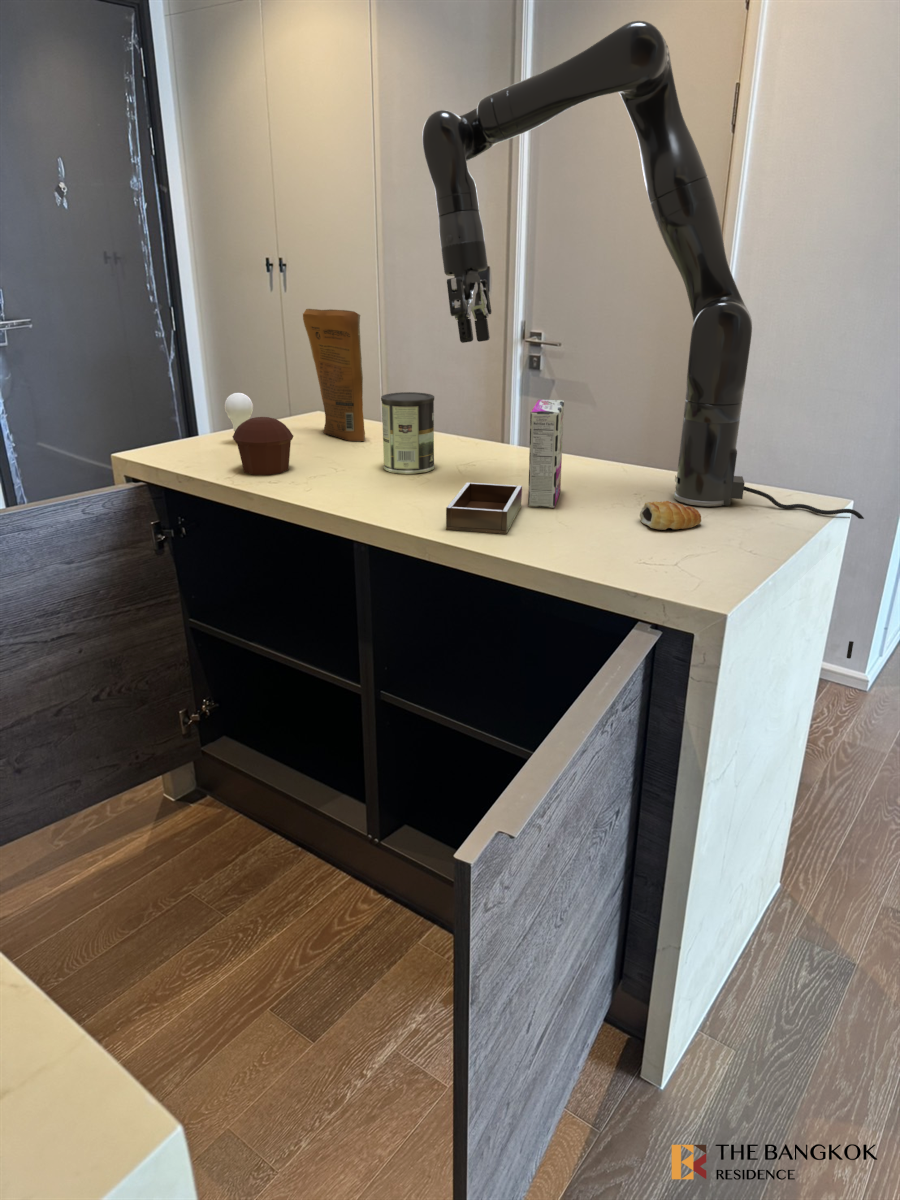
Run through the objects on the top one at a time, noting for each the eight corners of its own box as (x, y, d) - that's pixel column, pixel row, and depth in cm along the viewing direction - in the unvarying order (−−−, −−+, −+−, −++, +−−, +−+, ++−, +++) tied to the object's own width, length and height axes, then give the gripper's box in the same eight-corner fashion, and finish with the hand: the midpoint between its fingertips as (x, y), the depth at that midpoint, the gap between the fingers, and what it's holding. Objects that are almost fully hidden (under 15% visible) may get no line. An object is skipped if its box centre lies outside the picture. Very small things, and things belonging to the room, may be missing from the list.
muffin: (306, 465, 173) (303, 415, 169) (276, 479, 163) (272, 426, 159) (255, 460, 177) (251, 411, 173) (223, 473, 167) (218, 421, 163)
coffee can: (424, 460, 178) (423, 390, 172) (442, 471, 169) (442, 398, 163) (376, 464, 174) (374, 393, 169) (392, 476, 165) (390, 402, 160)
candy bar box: (533, 489, 157) (537, 398, 150) (560, 491, 156) (565, 399, 149) (525, 507, 147) (529, 410, 140) (555, 509, 146) (560, 411, 139)
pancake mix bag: (352, 445, 190) (346, 312, 179) (306, 431, 203) (299, 306, 193) (377, 441, 194) (373, 310, 183) (331, 427, 207) (324, 305, 197)
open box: (521, 506, 147) (522, 485, 146) (506, 534, 133) (507, 511, 132) (466, 502, 149) (466, 482, 148) (445, 529, 135) (446, 507, 134)
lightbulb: (261, 442, 193) (257, 392, 188) (242, 447, 188) (237, 396, 184) (242, 438, 196) (237, 389, 191) (222, 443, 191) (217, 393, 187)
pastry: (689, 517, 142) (692, 494, 140) (708, 529, 136) (711, 506, 134) (635, 520, 140) (637, 497, 139) (652, 533, 134) (654, 509, 132)
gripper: (468, 235, 139) (482, 339, 143) (496, 242, 152) (508, 337, 156) (426, 244, 142) (440, 346, 146) (457, 250, 155) (469, 343, 159)
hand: (475, 341), depth 151 cm, fingers open, 8 cm apart
